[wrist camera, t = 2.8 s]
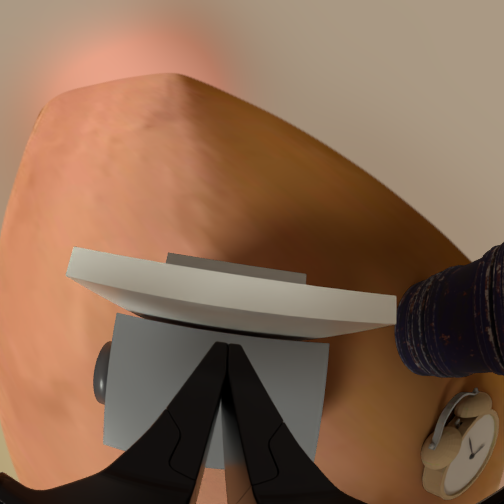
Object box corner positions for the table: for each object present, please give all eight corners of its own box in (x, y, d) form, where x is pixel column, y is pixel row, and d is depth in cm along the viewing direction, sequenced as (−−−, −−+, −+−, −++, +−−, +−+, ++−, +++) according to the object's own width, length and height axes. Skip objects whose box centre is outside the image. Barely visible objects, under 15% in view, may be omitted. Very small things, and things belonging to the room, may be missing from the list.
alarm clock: (446, 514, 12) (436, 455, 13) (421, 500, 17) (400, 438, 18) (501, 445, 15) (500, 366, 16) (475, 439, 20) (465, 363, 21)
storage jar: (379, 300, 22) (520, 241, 8) (441, 266, 25) (548, 209, 11) (409, 395, 20) (546, 402, 6) (466, 347, 22) (576, 324, 8)
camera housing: (286, 441, 17) (312, 469, 12) (116, 417, 16) (85, 437, 11) (298, 345, 20) (329, 343, 15) (127, 320, 19) (98, 308, 14)
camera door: (294, 341, 20) (396, 323, 8) (147, 319, 19) (65, 275, 7) (296, 318, 20) (395, 274, 9) (151, 296, 19) (81, 224, 8)
